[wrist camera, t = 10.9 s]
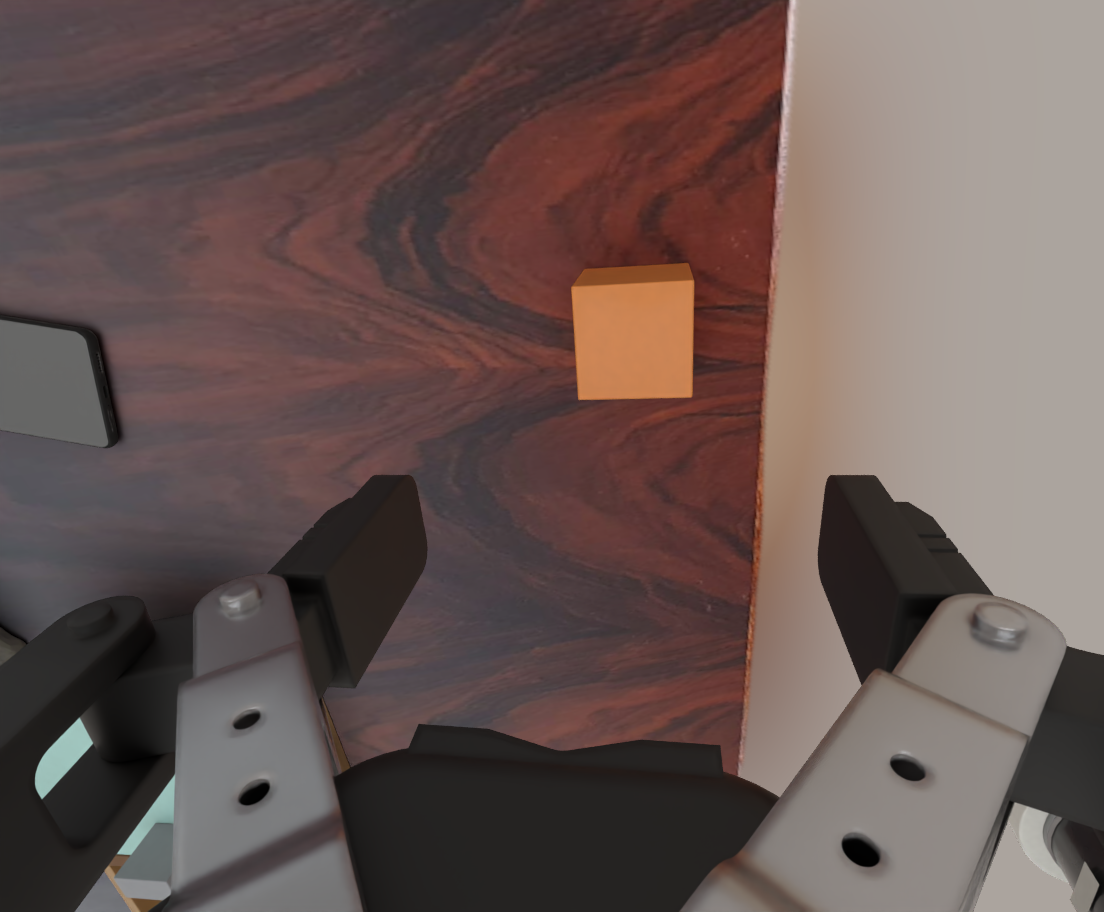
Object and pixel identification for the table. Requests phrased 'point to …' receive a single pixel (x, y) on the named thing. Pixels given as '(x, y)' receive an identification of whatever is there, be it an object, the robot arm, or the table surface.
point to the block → (634, 332)
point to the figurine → (9, 646)
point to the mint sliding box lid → (149, 842)
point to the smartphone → (54, 383)
